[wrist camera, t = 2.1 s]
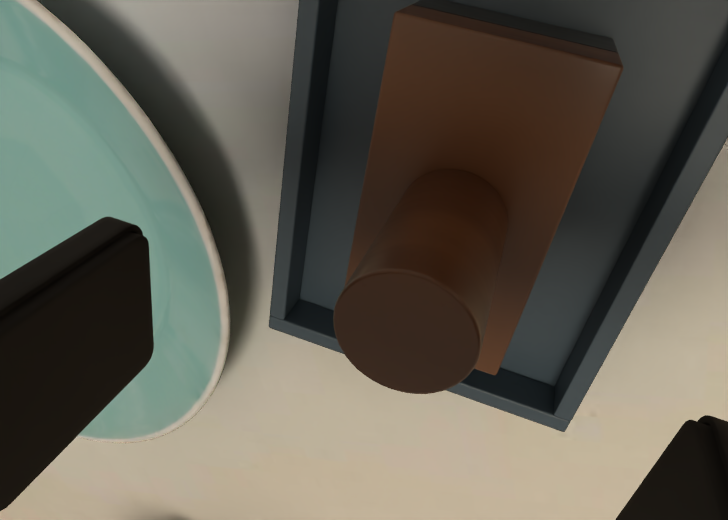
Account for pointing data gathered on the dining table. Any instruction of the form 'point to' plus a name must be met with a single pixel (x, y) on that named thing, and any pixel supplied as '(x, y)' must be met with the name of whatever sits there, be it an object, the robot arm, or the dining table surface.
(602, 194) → the tray
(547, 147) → the rubber stamp
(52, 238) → the plate
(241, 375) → the dining table surface
